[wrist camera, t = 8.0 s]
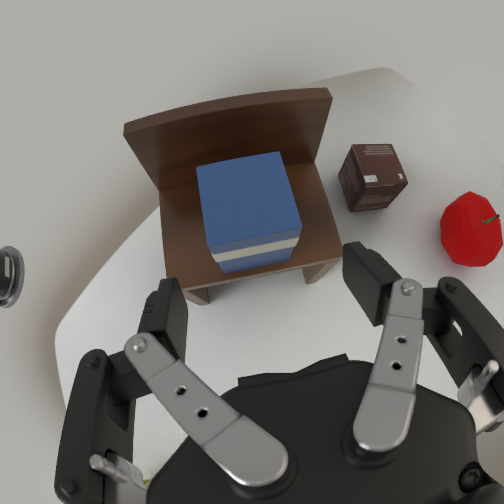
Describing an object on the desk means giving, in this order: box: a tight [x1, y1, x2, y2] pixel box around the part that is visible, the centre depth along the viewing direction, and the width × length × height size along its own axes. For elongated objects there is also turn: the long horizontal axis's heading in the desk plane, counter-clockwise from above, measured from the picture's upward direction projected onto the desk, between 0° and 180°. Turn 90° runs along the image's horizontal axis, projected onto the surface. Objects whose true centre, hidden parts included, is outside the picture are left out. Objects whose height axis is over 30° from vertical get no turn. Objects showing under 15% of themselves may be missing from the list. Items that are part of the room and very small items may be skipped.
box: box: [338, 144, 408, 212], centre depth 32 cm, size 6×6×7 cm
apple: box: [440, 191, 503, 267], centre depth 29 cm, size 11×11×10 cm
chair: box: [123, 88, 343, 306], centre depth 24 cm, size 10×14×20 cm
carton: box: [196, 151, 302, 274], centre depth 18 cm, size 5×5×7 cm
